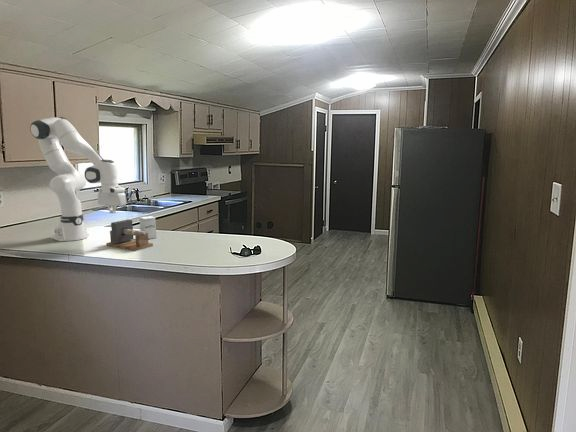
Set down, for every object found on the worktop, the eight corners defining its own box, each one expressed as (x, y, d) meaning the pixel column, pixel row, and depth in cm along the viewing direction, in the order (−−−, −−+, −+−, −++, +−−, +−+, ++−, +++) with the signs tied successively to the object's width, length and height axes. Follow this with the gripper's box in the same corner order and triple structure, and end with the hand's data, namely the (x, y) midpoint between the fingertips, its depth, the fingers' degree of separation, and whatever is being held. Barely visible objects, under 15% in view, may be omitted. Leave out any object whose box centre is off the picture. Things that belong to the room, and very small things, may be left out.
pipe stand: (106, 245, 256) (105, 229, 255) (124, 241, 266) (122, 225, 265) (135, 250, 244) (134, 233, 242) (153, 246, 254) (151, 229, 252)
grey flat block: (112, 242, 254) (111, 222, 252) (128, 238, 263) (127, 219, 261) (117, 243, 252) (115, 223, 250) (133, 238, 261) (132, 220, 259)
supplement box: (144, 240, 269) (143, 218, 267) (140, 237, 275) (139, 217, 273) (157, 238, 273) (155, 217, 271) (152, 236, 279) (151, 215, 277)
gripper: (93, 189, 259) (96, 213, 261) (117, 190, 248) (119, 215, 250) (103, 187, 264) (105, 211, 266) (126, 188, 253) (129, 213, 256)
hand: (112, 213), depth 258 cm, fingers closed
